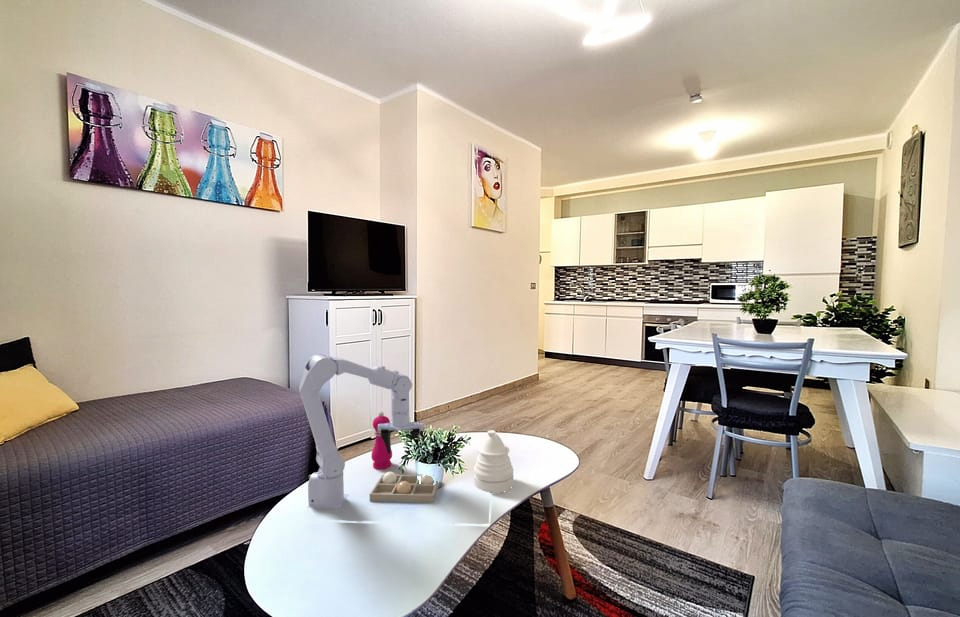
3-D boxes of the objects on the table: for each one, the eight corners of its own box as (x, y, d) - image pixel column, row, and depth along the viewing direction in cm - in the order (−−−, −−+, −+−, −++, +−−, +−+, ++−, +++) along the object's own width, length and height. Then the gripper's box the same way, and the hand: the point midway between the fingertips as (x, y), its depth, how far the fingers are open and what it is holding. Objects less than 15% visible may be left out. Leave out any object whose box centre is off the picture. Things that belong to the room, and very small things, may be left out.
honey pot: (507, 496, 127) (507, 438, 126) (468, 490, 131) (467, 434, 130) (517, 478, 139) (517, 425, 138) (481, 473, 143) (480, 421, 142)
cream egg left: (380, 488, 131) (380, 475, 131) (384, 482, 135) (384, 469, 135) (394, 489, 131) (394, 475, 131) (398, 482, 135) (398, 469, 135)
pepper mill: (383, 461, 153) (382, 407, 152) (396, 466, 149) (395, 411, 148) (367, 468, 148) (366, 412, 147) (381, 473, 143) (380, 416, 142)
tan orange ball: (394, 499, 124) (394, 484, 124) (398, 492, 129) (398, 478, 129) (409, 499, 124) (409, 485, 124) (412, 492, 129) (412, 478, 128)
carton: (369, 502, 124) (369, 494, 124) (382, 482, 137) (382, 474, 137) (433, 504, 123) (432, 495, 123) (439, 483, 136) (439, 475, 135)
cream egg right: (419, 489, 130) (419, 475, 130) (422, 483, 135) (421, 469, 134) (433, 490, 130) (433, 476, 130) (435, 483, 134) (435, 470, 134)
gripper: (375, 415, 130) (376, 457, 131) (421, 414, 131) (422, 456, 132) (379, 408, 137) (380, 449, 138) (423, 407, 138) (424, 448, 139)
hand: (401, 452), depth 135 cm, fingers open, 7 cm apart
